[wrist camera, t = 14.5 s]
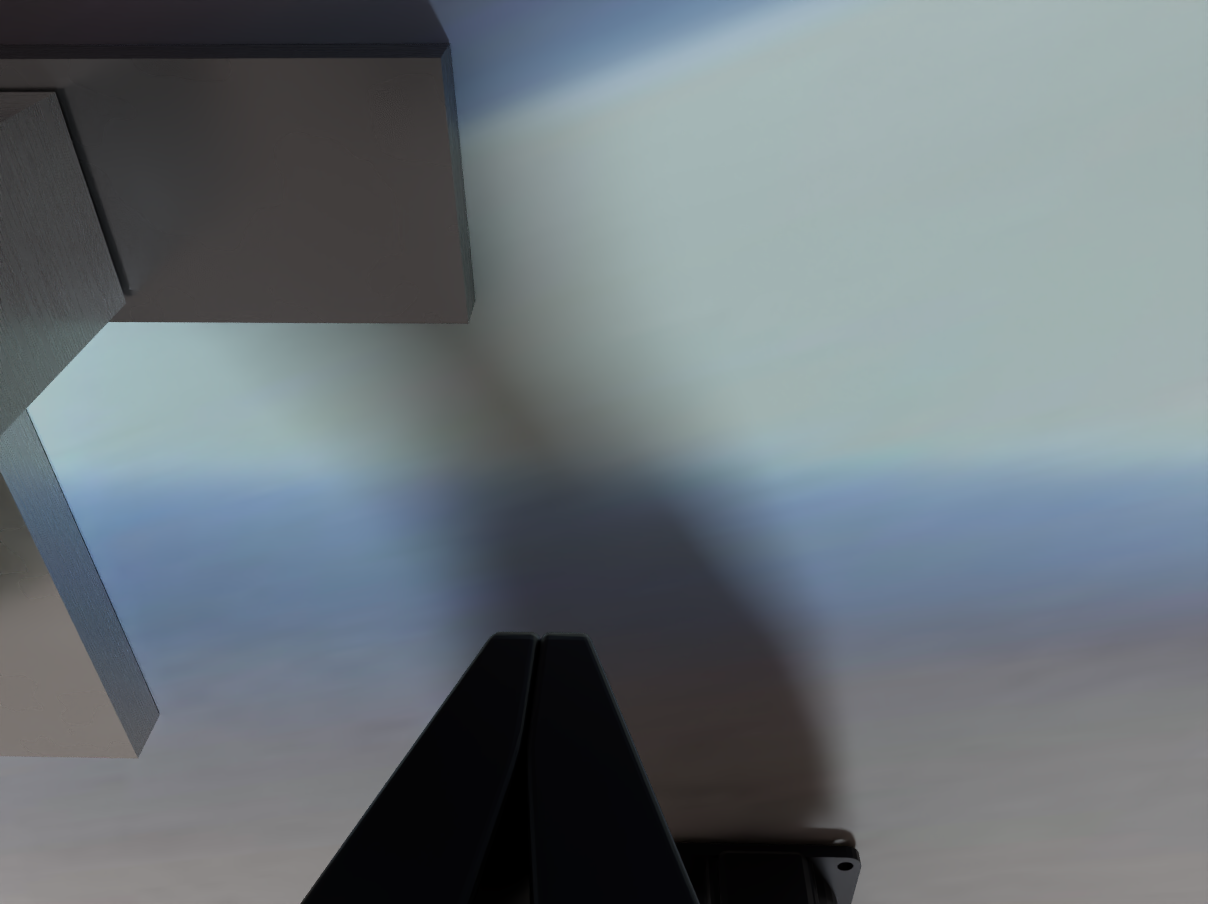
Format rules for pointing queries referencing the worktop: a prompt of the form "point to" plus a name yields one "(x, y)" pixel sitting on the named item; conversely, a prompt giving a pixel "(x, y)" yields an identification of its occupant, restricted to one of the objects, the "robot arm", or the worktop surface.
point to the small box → (45, 252)
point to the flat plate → (58, 625)
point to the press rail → (268, 177)
